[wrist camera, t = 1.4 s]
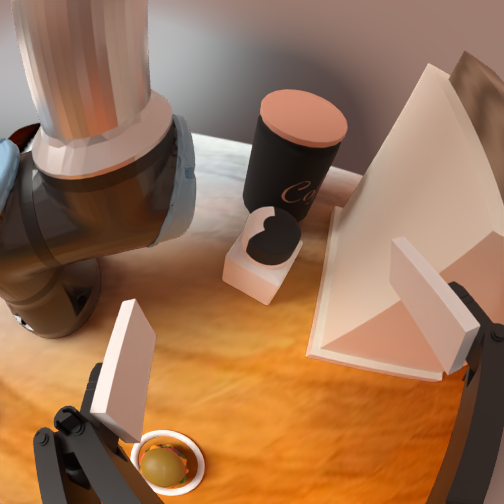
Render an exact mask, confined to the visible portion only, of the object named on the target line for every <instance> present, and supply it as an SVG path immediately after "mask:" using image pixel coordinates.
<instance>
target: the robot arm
mask: <svg viewBox="0 0 504 504" xmlns="http://www.w3.org/2000/svg"><path fill="white" fill-rule="evenodd" d="M147 2H148V0H11V7H12V14H13V19H14V25H15V30H16V36H17V41H18V45H19V50H20V55H21V59H22V63H23V67H24V71H25V74H26V78H27V82H28V85H29V89H30V92H31V96H32V99H33V102H34V105H35V108H36V111H37V114H38V117H39V120H40V123H41V126H40V128H39V130H38V132H37V134H36V136H35V138H34V141H33V144H32V151H29V152H26V153H23V154H20V152H19V148H18V147H17V145H16V144H13V143H12V141H10V140H6V139H5V138H0V297H2V298H3V299H4V300H5V301H6V303H7V305H8V307H9V308H10V310H11V312H12V314H13V315H14V317H15V318H16V320H17V321H18V322H19V323H20V324H21V325H22V326H23V327H24V328H25V329H27V330H28V331H30V332H32V333H34V334H36V335H38V336H40V337H44V338H60V337H63V336H66V335H69V334H71V333H72V332H74V331H76V330H77V329H78V328H80V327H81V326H82V325H83V324H84V323H85V322H86V321H87V319H88V318H89V317H90V315H91V314H92V312H93V310H94V308H95V306H96V304H97V301H98V298H99V295H100V289H101V273H100V269H99V265H98V263H97V260H96V258H99V257H103V256H107V255H112V254H116V253H121V252H125V251H130V250H135V249H139V248H144V247H153V246H155V245H157V244H158V243H160V242H164V241H167V240H171V239H174V238H177V237H180V236H181V235H183V234H184V233H185V232H186V231H187V230H188V228H189V226H190V224H191V222H192V219H193V215H194V210H195V200H196V178H195V175H194V169H195V154H194V146H193V140H192V135H191V132H190V129H189V126H188V123H187V121H186V120H185V119H184V118H183V117H182V116H180V115H174V114H172V108H171V105H170V103H169V102H168V101H167V99H165V97H163V96H162V95H160V94H159V93H157V92H155V91H154V90H152V89H151V88H150V71H149V51H148V13H147V12H148V9H147V7H148V5H147ZM389 283H390V284H391V286H392V287H393V289H394V290H395V292H396V293H397V295H398V296H399V298H400V299H401V301H402V302H403V304H404V305H405V307H406V308H407V310H408V311H409V313H410V314H411V316H412V317H413V319H414V320H415V322H416V324H417V325H418V327H419V328H420V330H421V332H422V333H423V335H424V336H425V338H426V340H427V341H428V343H429V344H430V346H431V348H432V349H433V351H434V353H435V354H436V356H437V358H438V360H439V361H440V363H441V365H442V366H443V368H444V370H445V372H446V373H447V375H449V374H451V373H453V372H456V371H458V370H460V369H461V368H462V366H463V364H464V362H465V360H466V362H467V364H468V365H469V367H468V369H467V371H466V373H465V375H464V377H463V379H462V380H463V381H464V380H465V384H464V389H463V393H462V398H461V402H460V406H459V410H458V414H457V418H456V422H455V425H454V429H453V432H452V435H451V439H450V442H449V445H448V448H447V451H446V454H445V457H444V460H443V463H442V465H441V468H440V471H439V473H438V476H437V478H436V481H435V483H434V486H433V488H432V490H431V493H430V495H429V497H428V500H427V502H426V504H483V502H484V499H485V496H486V493H487V490H488V487H489V484H490V480H491V477H492V473H493V470H494V467H495V462H496V459H497V455H498V451H499V446H500V442H501V437H502V432H503V427H504V325H502V324H500V323H493V322H492V321H491V319H490V318H489V317H488V316H487V314H486V313H485V312H484V311H483V309H482V308H481V307H480V306H479V305H478V303H477V302H476V301H475V300H474V299H473V297H472V296H471V295H470V294H469V293H468V292H467V290H466V289H465V288H464V287H463V286H461V285H460V284H458V283H456V282H455V281H453V282H450V283H446V282H445V281H444V279H443V278H442V277H441V276H440V275H439V274H438V273H437V271H436V270H435V269H434V268H433V267H432V266H431V265H430V264H429V262H428V261H427V260H426V259H425V258H424V257H423V256H422V255H421V254H420V253H419V252H418V250H417V249H416V248H415V247H414V246H413V245H412V244H411V243H410V242H409V241H408V240H407V239H406V238H405V237H404V236H403V237H399V238H395V239H391V259H390V276H389ZM156 336H157V335H156V334H155V332H154V330H153V329H152V327H151V325H150V323H149V322H148V320H147V318H146V317H145V315H144V313H143V311H142V310H141V308H140V306H139V304H138V302H137V301H136V299H132V300H127V301H123V302H122V305H121V308H120V311H119V314H118V317H117V320H116V323H115V326H114V329H113V332H112V335H111V338H110V341H109V345H108V348H107V351H106V354H105V358H104V361H103V363H97V364H96V365H95V367H94V368H93V370H92V371H91V374H90V377H89V383H88V384H87V388H86V389H87V390H86V391H85V395H84V398H83V402H82V406H81V409H80V412H79V411H78V410H77V409H75V408H74V407H72V406H65V407H63V408H61V409H60V410H59V411H58V412H57V414H56V416H55V418H54V427H55V428H56V429H58V430H59V431H58V432H53V431H52V430H51V429H49V428H46V427H45V428H41V429H40V430H38V431H37V433H36V434H35V436H34V440H33V445H34V454H35V462H36V469H37V476H38V482H39V487H40V493H41V498H42V502H43V504H102V503H103V504H164V503H163V501H162V500H161V499H160V498H159V497H158V495H157V494H156V493H155V492H154V491H153V489H152V488H151V487H150V486H149V484H148V483H147V482H146V480H145V479H144V478H143V477H142V475H141V474H140V473H139V471H138V470H137V469H136V467H135V466H134V464H133V463H132V462H131V460H130V459H129V457H128V456H127V455H126V453H125V452H124V450H123V449H122V447H121V446H120V445H119V444H118V441H119V438H120V439H121V440H123V441H124V442H125V443H141V436H142V428H143V420H144V412H145V405H146V397H147V391H148V384H149V377H150V371H151V365H152V359H153V353H154V347H155V342H156ZM465 378H466V379H465ZM101 502H102V503H101Z"/></svg>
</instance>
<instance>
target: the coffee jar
mask: <svg viewBox="0 0 504 504" xmlns="http://www.w3.org/2000/svg"><path fill="white" fill-rule="evenodd" d="M347 129H348V127H347V122H346V119H345V118H344V116H343V115H342V113H341V112H340V111H339V110H338V109H337V108H336V107H335V106H334V105H333V104H331V103H330V102H328V101H327V100H325V99H323V98H321V97H319V96H316V95H314V94H312V93H308V92H304V91H299V90H279V91H275V92H272V93H270V94H268V95H267V96H266V97H265V98H264V99H263V100H262V103H261V110H260V115H259V117H258V121H257V126H256V131H255V136H254V141H253V145H252V150H251V155H250V160H249V165H248V170H247V175H246V180H245V185H244V191H243V199H244V204H245V206H246V208H247V209H248V211H249V212H250V214H251V213H252V212H254V211H255V210H257V209H259V208H262V207H277V208H281V209H283V210H285V211H287V212H288V213H290V214H291V215H292V216H293V217H294V218H295V219H296V221H297V222H300V221H301V220H302V219H303V218H304V217H305V216H306V214H307V212H308V210H309V209H310V207H311V205H312V203H313V201H314V199H315V197H316V194H317V192H318V190H319V188H320V186H321V184H322V182H323V180H324V178H325V176H326V174H327V172H328V170H329V168H330V166H331V164H332V162H333V160H334V158H335V156H336V154H337V151H338V149H339V146H340V144H341V140H342V139H343V138H344V136H345V134H346V131H347Z"/></svg>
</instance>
